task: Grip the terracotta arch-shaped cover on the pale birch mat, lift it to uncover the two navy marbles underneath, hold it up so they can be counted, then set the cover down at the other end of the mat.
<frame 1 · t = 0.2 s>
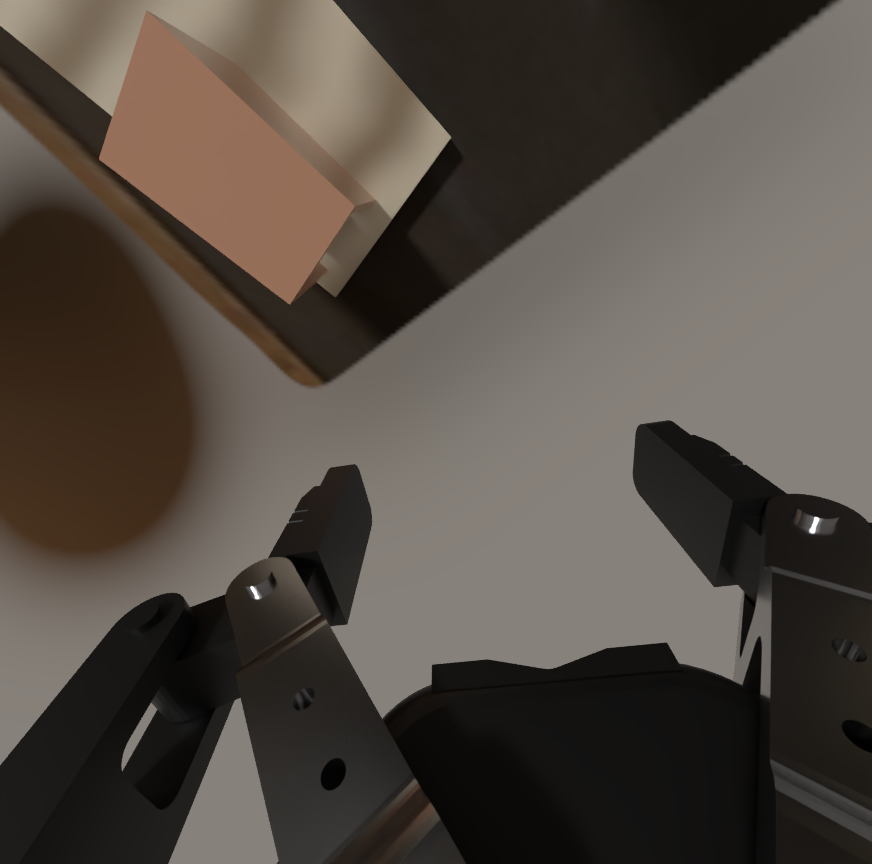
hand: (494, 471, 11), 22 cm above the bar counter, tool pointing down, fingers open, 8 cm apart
terracotta cover: (285, 183, 25), point 1 cm above the bar counter, touching birch mat
birch mat: (230, 72, 22), on the bar counter
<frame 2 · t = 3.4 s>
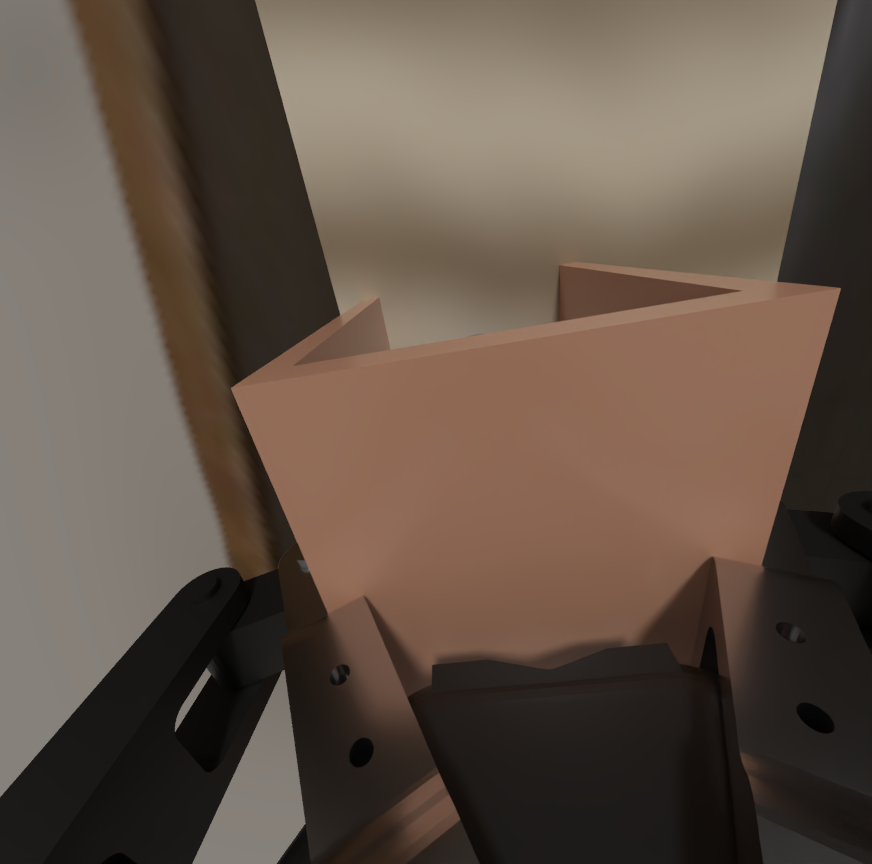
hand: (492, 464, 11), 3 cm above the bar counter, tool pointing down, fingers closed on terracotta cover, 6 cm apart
terracotta cover: (485, 430, 13), point 1 cm above the bar counter, touching birch mat, gripper
birch mat: (543, 247, 12), on the bar counter
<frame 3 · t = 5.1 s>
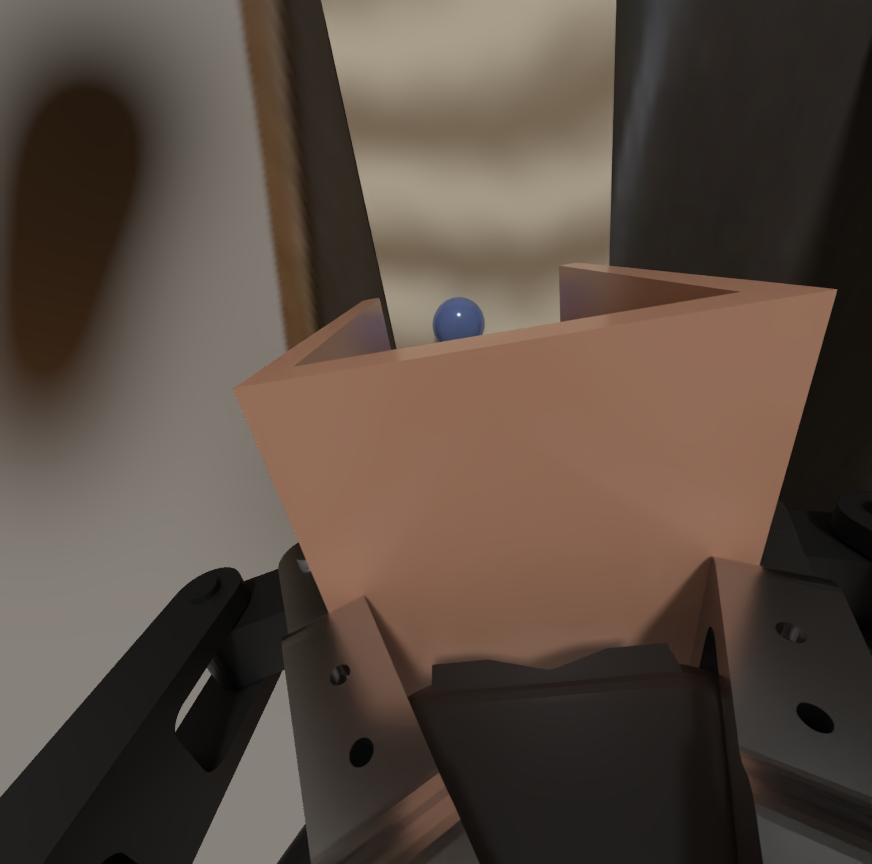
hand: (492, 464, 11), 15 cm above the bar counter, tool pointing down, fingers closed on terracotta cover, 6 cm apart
terracotta cover: (485, 430, 13), point 12 cm above the bar counter, touching gripper
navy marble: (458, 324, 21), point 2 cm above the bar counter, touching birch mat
birch mat: (490, 253, 22), on the bar counter
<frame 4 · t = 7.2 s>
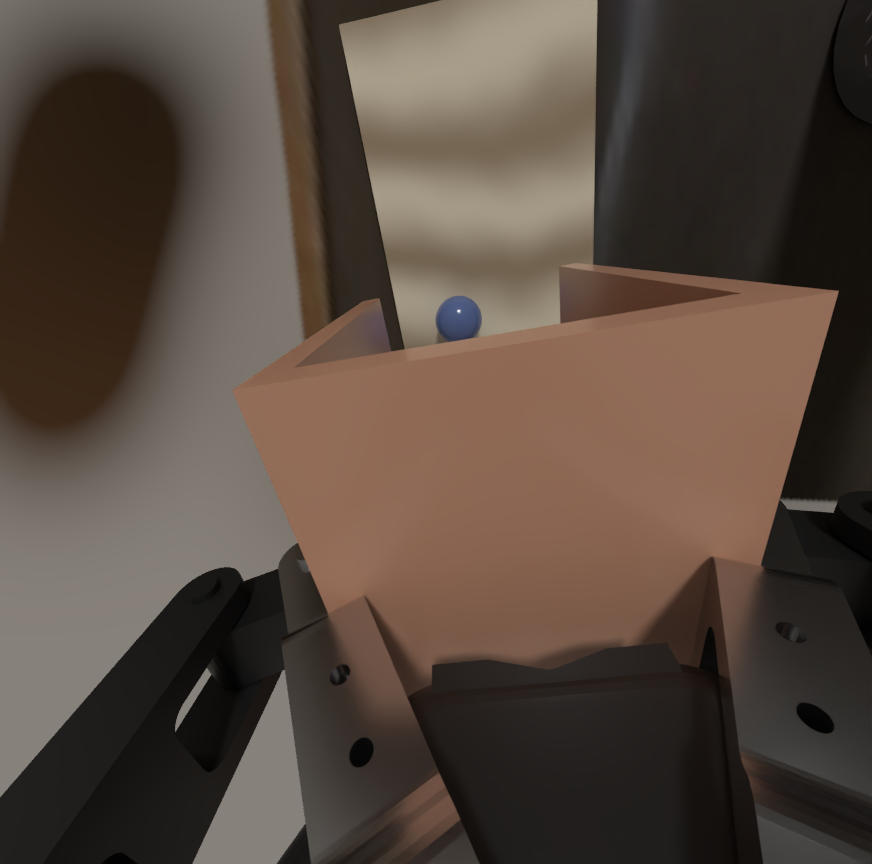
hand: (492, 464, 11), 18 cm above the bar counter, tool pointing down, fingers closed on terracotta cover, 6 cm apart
terracotta cover: (485, 431, 13), point 15 cm above the bar counter, touching gripper
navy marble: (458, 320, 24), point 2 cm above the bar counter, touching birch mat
birch mat: (487, 256, 25), on the bar counter
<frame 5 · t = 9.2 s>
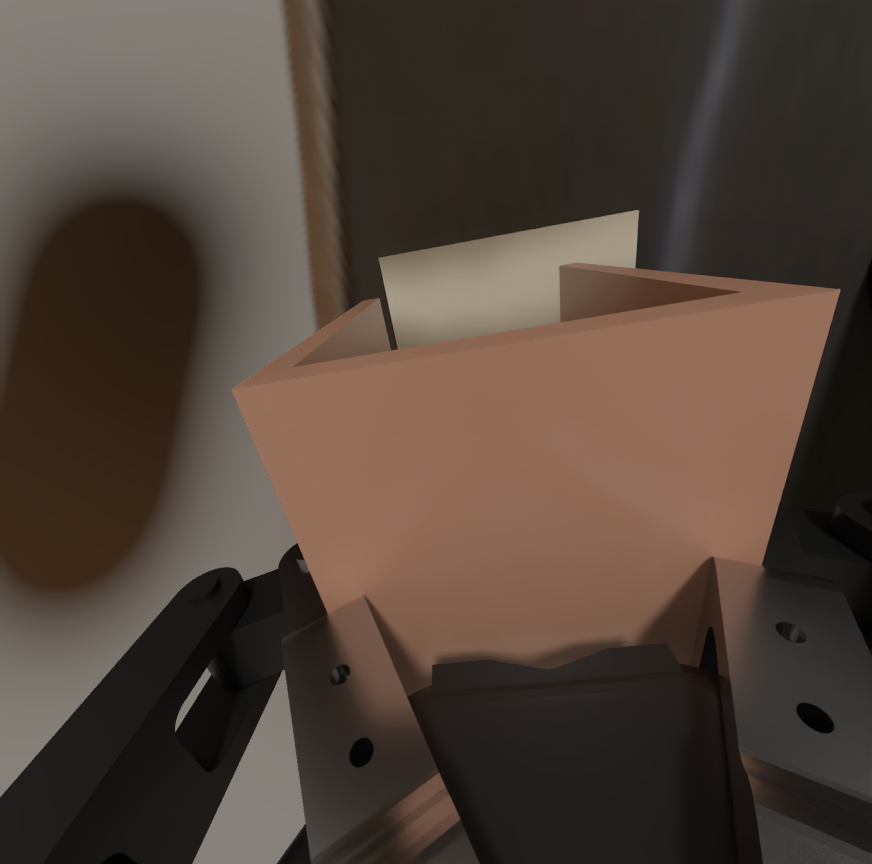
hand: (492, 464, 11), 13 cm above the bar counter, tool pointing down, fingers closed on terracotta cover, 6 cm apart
terracotta cover: (485, 430, 13), point 10 cm above the bar counter, touching gripper
birch mat: (517, 436, 25), on the bar counter
when the fingers open (5 cm above the bar counter, at t = 11.1 s): terracotta cover drops 1 cm, resting on birch mat.
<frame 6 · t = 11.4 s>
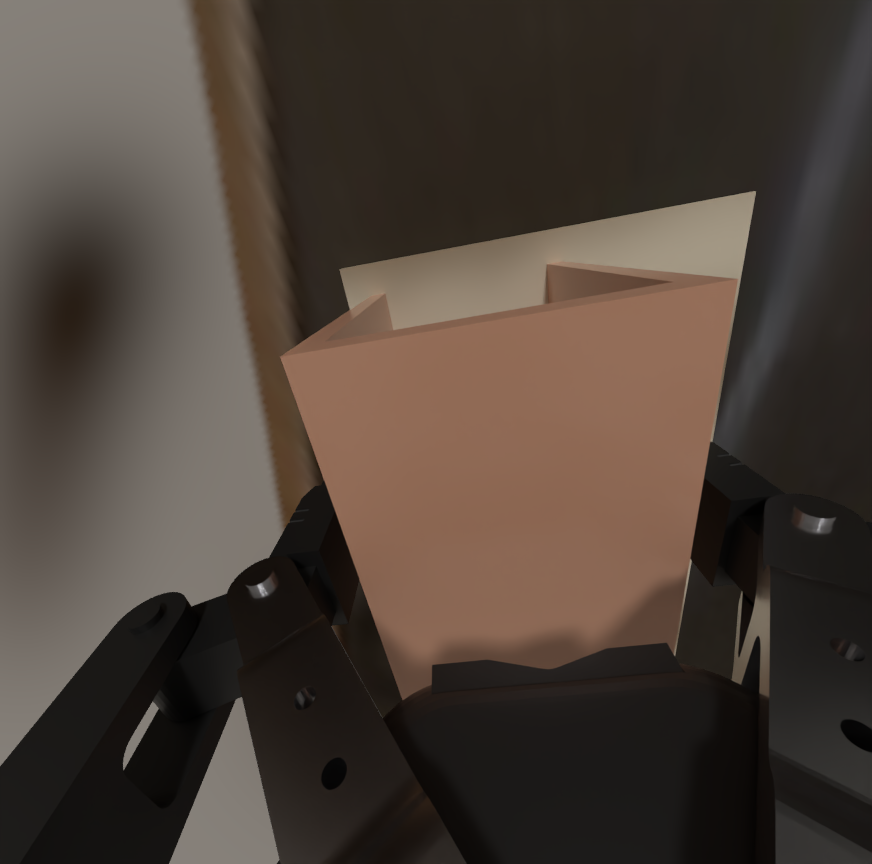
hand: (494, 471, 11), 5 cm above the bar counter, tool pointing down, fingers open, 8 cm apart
terracotta cover: (481, 415, 15), point 1 cm above the bar counter, touching birch mat
birch mat: (545, 513, 18), on the bar counter
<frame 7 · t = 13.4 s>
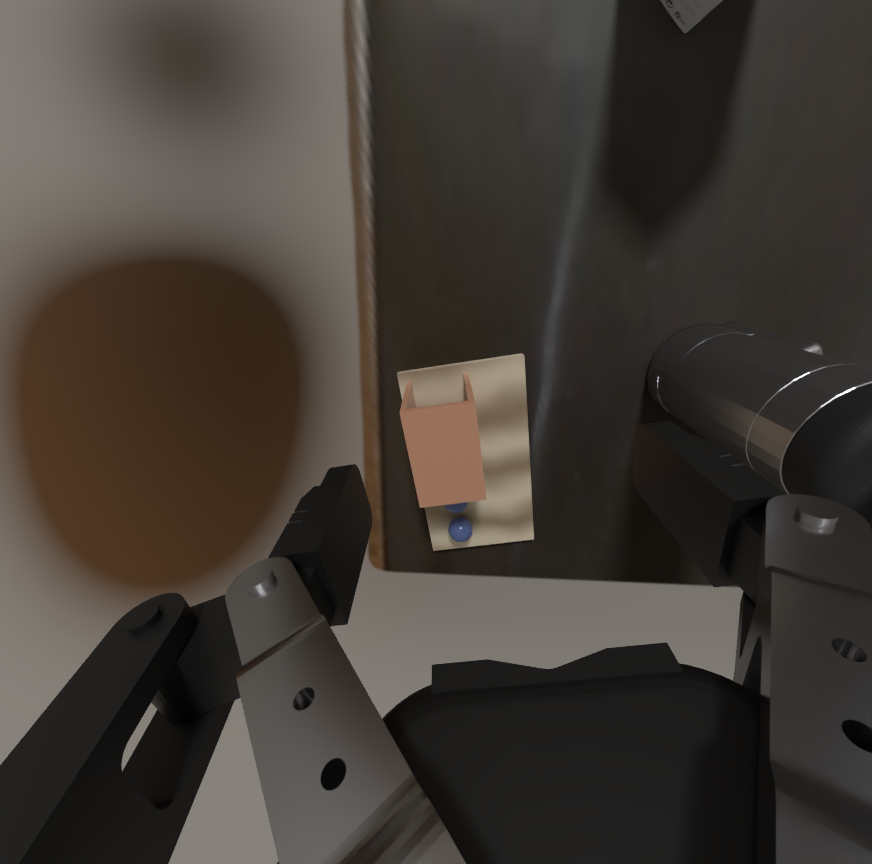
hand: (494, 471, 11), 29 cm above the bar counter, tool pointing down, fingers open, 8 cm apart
terracotta cover: (444, 421, 41), point 1 cm above the bar counter, touching birch mat
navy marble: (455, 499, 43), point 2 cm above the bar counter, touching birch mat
birch mat: (472, 461, 44), on the bar counter
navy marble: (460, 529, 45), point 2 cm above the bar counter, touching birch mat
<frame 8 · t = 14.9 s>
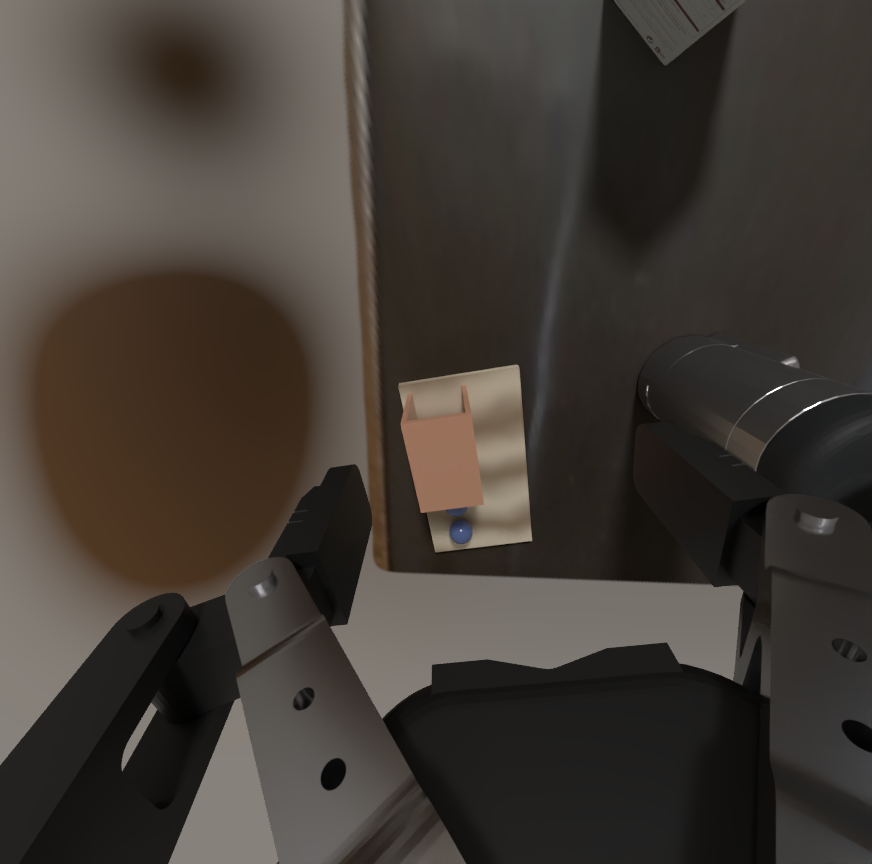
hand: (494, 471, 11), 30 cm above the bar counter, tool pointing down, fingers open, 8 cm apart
terracotta cover: (443, 430, 43), point 1 cm above the bar counter, touching birch mat
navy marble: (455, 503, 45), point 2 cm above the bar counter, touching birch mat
birch mat: (471, 467, 46), on the bar counter
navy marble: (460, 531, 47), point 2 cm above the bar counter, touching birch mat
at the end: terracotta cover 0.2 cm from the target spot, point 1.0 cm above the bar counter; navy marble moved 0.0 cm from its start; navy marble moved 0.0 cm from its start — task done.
